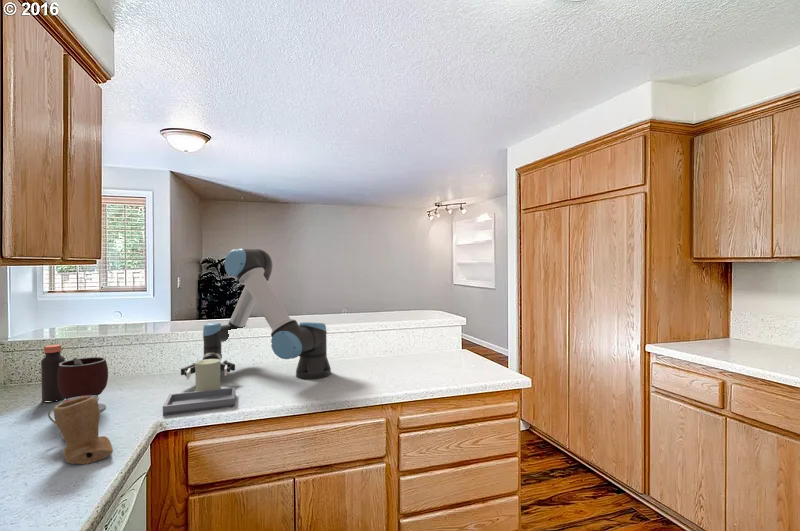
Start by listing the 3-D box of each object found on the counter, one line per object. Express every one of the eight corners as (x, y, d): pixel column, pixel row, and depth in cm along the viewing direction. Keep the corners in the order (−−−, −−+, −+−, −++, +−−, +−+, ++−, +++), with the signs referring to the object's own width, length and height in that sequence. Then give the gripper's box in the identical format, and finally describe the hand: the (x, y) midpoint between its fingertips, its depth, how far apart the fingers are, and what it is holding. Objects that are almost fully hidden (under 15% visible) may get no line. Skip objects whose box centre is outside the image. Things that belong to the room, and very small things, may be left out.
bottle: (45, 398, 160) (44, 345, 160) (68, 395, 163) (66, 343, 163) (39, 403, 154) (37, 348, 154) (62, 401, 157) (60, 346, 157)
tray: (235, 395, 161) (235, 387, 161) (234, 407, 148) (234, 398, 148) (169, 402, 154) (169, 394, 154) (162, 415, 141) (162, 406, 141)
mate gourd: (66, 407, 150) (65, 350, 149) (113, 402, 155) (112, 347, 154) (49, 423, 135) (47, 360, 135) (101, 416, 140) (100, 356, 140)
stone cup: (54, 452, 114) (53, 396, 114) (108, 440, 122) (107, 388, 121) (54, 474, 102) (52, 412, 102) (113, 459, 110) (112, 401, 110)
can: (191, 391, 167) (190, 360, 167) (214, 385, 174) (214, 356, 174) (201, 396, 161) (200, 364, 161) (225, 390, 168) (224, 359, 167)
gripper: (241, 367, 192) (240, 380, 172) (179, 373, 183) (171, 387, 163) (241, 351, 192) (240, 361, 172) (179, 356, 183) (170, 367, 163)
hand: (206, 374), depth 168 cm, fingers open, 13 cm apart
